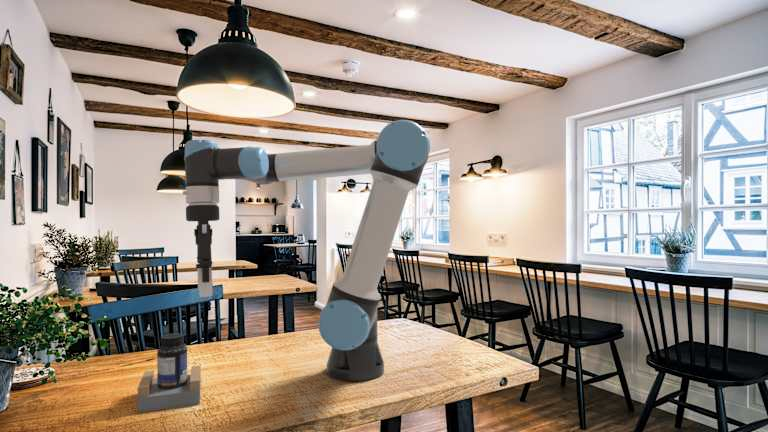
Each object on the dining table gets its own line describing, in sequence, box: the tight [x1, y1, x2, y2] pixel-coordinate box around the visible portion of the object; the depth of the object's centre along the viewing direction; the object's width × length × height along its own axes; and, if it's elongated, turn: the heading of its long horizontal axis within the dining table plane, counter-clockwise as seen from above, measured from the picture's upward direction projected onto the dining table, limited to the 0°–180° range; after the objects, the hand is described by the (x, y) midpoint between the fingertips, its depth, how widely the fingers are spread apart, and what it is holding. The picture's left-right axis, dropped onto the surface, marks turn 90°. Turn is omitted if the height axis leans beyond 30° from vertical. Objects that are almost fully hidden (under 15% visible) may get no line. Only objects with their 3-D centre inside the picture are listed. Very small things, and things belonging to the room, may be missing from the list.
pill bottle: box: [156, 332, 188, 389], centre depth 102 cm, size 6×6×11 cm
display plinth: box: [136, 365, 202, 414], centre depth 102 cm, size 12×12×5 cm
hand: (204, 292), depth 109 cm, fingers open, 13 cm apart
